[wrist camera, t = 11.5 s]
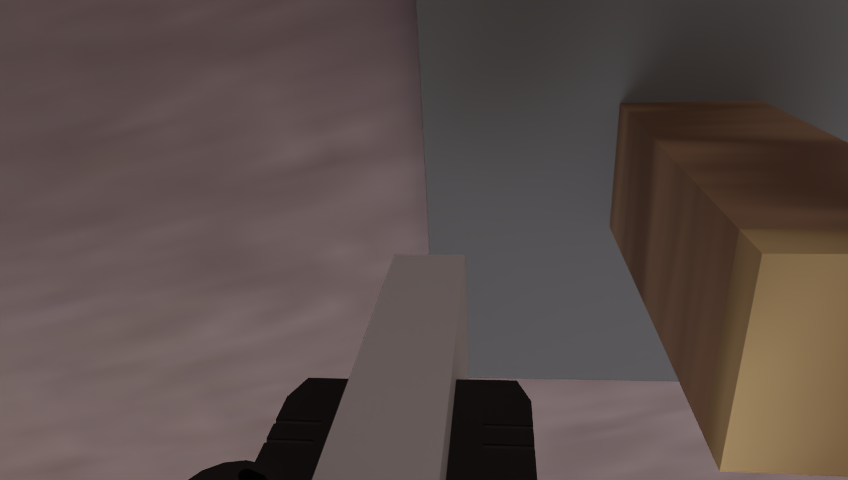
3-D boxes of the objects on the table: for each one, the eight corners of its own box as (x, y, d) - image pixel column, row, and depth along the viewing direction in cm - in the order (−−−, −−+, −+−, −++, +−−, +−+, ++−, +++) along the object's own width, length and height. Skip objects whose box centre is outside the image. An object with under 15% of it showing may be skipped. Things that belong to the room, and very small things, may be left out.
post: (609, 226, 22) (719, 470, 12) (619, 103, 21) (762, 253, 10) (738, 226, 22) (981, 482, 11) (760, 100, 20) (1078, 255, 9)
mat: (438, 363, 27) (436, 377, 26) (413, -107, 20) (409, -111, 19) (936, 370, 24) (953, 386, 24) (1115, -159, 17) (1149, -166, 16)
